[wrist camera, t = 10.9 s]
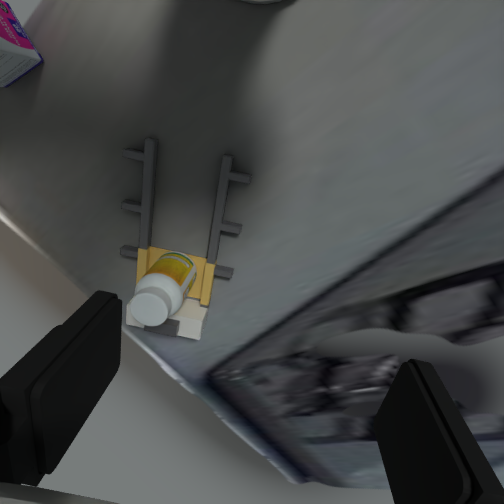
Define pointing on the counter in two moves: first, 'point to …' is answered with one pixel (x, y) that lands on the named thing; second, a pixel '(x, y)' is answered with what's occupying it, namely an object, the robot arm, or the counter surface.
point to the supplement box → (14, 48)
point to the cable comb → (191, 312)
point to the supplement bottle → (163, 288)
